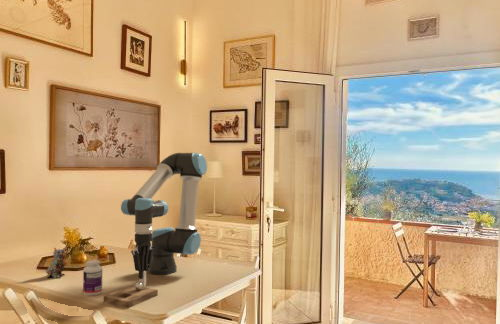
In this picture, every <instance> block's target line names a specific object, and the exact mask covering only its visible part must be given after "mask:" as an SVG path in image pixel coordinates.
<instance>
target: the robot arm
mask: <svg viewBox="0 0 500 324" xmlns="http://www.w3.org/2000/svg"><path fill="white" fill-rule="evenodd" d="M207 165H208V164H207V160H206V158H205V156H204V155H203V154H202V153H199V152H176V153H171V154H170V155H168V156H167V157H165V158H164V159H162V160H161V161H160V163H158V165H157V166H156V170H155V171H154V172H153V173H152V174H151V175H150V177H148V179H147V180H146V181H145V182H144V184H143V185H142V186H141V187H140V188H139V189H138V190H137V192H136V193H135V194H134V195H133V196H132V198H128V199H124V200H123V201H122V202H121V204H120V210H121V213H123V215H127V216H134V233H135V234H134V242H135V248H134V249H132V250H131V251H130V252H131V254H132V258H133V259H132V260H133V264H134V265H133V267H134V270H135V271H137V272H138V282H141V283H142V284H143V287H146V286H147V277H148V273H149V274H152V275H169V274H174V273H176V272H177V271H178V270H177V269H178V266H177V264H176V260H175V259H176V258H175V255H174V254H180V255H185V256H186V255H194V254H195V253H197V252H198V250H199V248H200V245H201V242H202V238H201V234H200V233H199V232H198V228H197V227H196V216H197V203H198V194H199V183H200V180H201V179H202V178H203V176H204V175H205V174H206V172H207V171H208V166H207ZM175 175H179V177H180V178H181V180H182V185H181V193H180V194H181V195H180V207H179V216H178V224H177V225H176V226H175V228H174V227H161V228H157V229H156V228H155V229H154V230H153V218H154V219H155V218H160V217H163V216H165V215H167V213H168V211H169V204H168V203H167V202H166V201H165V200H161V199H159V200H153V197H154V196H155V195H156V194H157V192H159V190H160V189H161V187H163V185H164V184H165V183H166V181H168V179H171V178H172V177H173V176H175Z"/></svg>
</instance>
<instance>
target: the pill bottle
mask: <svg viewBox="0 0 500 324" xmlns="http://www.w3.org/2000/svg"><path fill="white" fill-rule="evenodd" d="M100 262H101V261H100V260H99V259H92V260H88V261H86V266H84V268H83V274H82V275H83V276H82V278H83V279H82V280H83V281H82V282H83V283H82V284H83V285H82V287H83V288H82V292H83V295H85V296H97V295H99V294H101V293H102V292H103V267H102V265H100V264H101V263H100Z"/></svg>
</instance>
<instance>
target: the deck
mask: <svg viewBox="0 0 500 324" xmlns="http://www.w3.org/2000/svg"><path fill="white" fill-rule="evenodd" d="M158 291H159V290H158V289H156V288H152V287H151V288H150V287H146V286H143V288H142V289H141V290H136V289H135V284H133V285H131V286H127V287H124V288H123V289H120V290H117V291H114V292H112V293H109V294H106V295H103V303H104V304H105V303H106V304H109V305H110V304H111V305H114V306H118V307H123V308H127V309H129V308H132V307H134V306H137V305H139V304H141V303H143V302H146V301H149V300H151V299H152V298H154V297H155V298H156V297H157V296H158V295H159V294H158V293H159V292H158Z"/></svg>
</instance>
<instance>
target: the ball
mask: <svg viewBox="0 0 500 324" xmlns="http://www.w3.org/2000/svg"><path fill="white" fill-rule="evenodd" d="M134 285H135V289H136V290H141V289H142V288H143V287H144V286H143V284H142V283H141V282H139V281H138V282H136V283H135V284H134Z"/></svg>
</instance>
